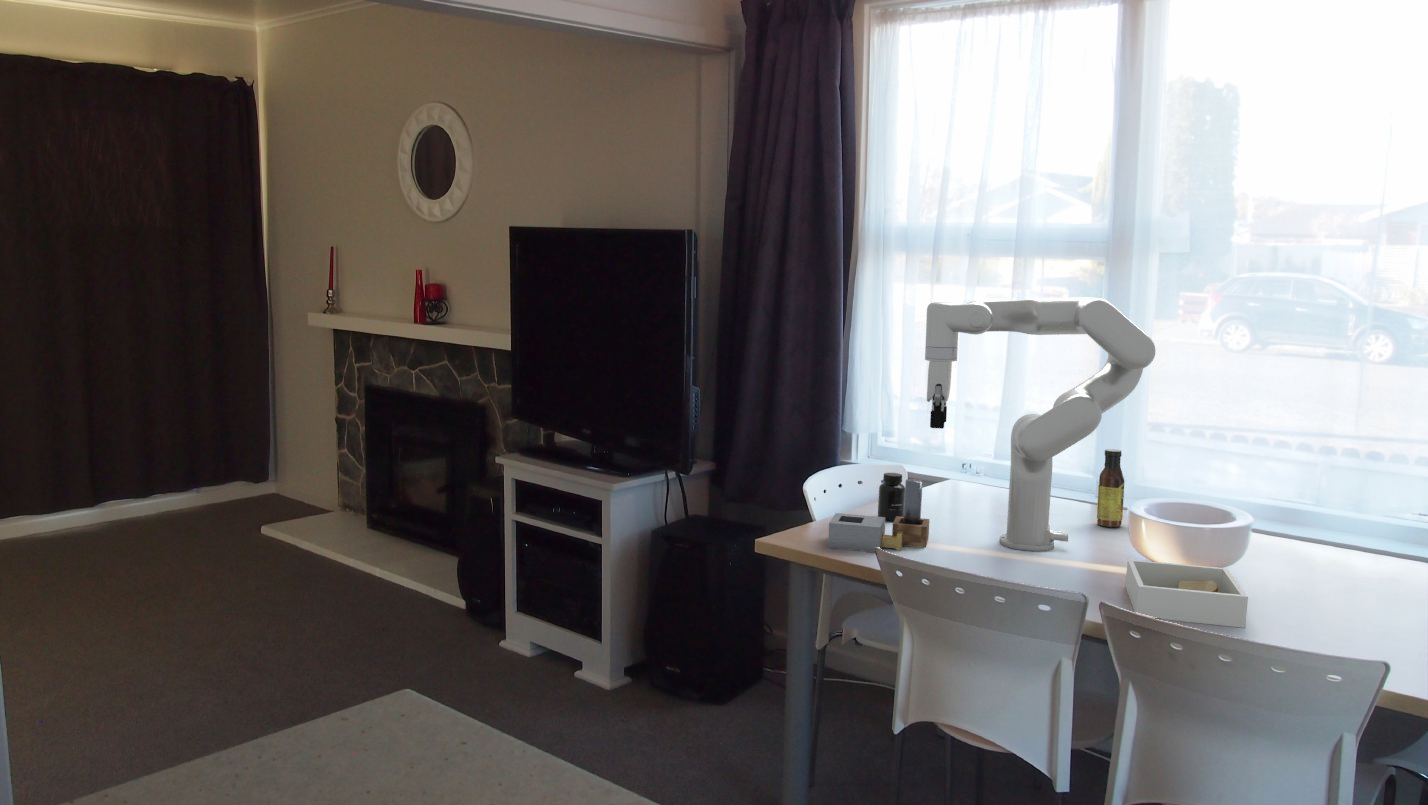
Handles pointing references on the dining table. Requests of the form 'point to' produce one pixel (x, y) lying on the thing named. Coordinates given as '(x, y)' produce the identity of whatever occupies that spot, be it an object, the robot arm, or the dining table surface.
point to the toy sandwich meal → (1198, 585)
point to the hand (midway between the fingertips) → (938, 424)
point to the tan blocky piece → (893, 541)
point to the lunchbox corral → (1185, 593)
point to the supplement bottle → (891, 497)
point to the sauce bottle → (1111, 491)
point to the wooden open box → (912, 532)
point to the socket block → (856, 532)
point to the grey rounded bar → (912, 501)
